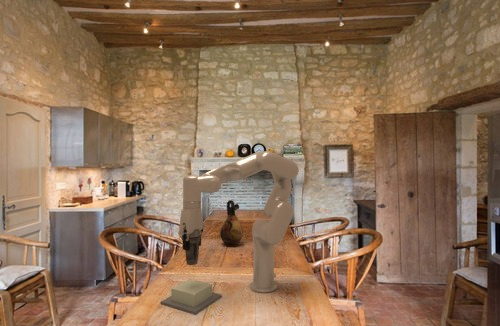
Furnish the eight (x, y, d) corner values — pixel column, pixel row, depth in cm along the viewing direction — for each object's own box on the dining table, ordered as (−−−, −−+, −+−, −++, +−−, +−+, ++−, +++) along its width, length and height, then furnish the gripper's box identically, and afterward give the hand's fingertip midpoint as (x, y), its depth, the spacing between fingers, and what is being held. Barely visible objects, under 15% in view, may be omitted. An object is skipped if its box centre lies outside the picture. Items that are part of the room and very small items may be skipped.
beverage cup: (185, 267, 132) (185, 218, 131) (181, 261, 138) (181, 214, 138) (202, 264, 135) (203, 216, 134) (198, 259, 141) (198, 213, 141)
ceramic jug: (247, 245, 218) (247, 201, 218) (227, 249, 210) (227, 203, 209) (234, 240, 233) (234, 198, 232) (214, 243, 224) (215, 200, 223)
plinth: (189, 288, 149) (189, 275, 149) (221, 296, 141) (221, 283, 140) (160, 304, 134) (160, 289, 133) (195, 314, 125) (195, 299, 125)
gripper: (198, 201, 145) (197, 241, 146) (170, 207, 130) (170, 251, 131) (211, 203, 142) (211, 243, 142) (185, 209, 127) (185, 254, 127)
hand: (192, 247), depth 136 cm, fingers closed on beverage cup, 6 cm apart
